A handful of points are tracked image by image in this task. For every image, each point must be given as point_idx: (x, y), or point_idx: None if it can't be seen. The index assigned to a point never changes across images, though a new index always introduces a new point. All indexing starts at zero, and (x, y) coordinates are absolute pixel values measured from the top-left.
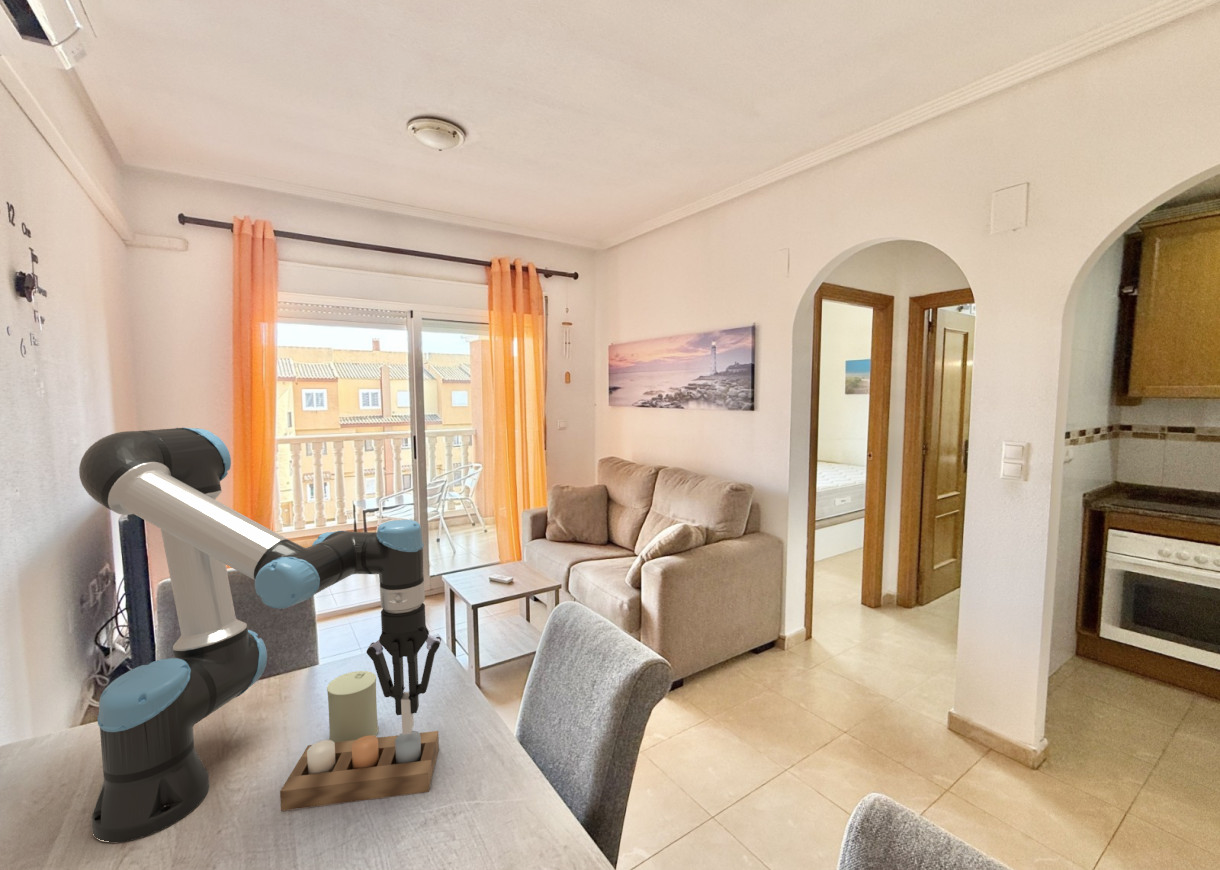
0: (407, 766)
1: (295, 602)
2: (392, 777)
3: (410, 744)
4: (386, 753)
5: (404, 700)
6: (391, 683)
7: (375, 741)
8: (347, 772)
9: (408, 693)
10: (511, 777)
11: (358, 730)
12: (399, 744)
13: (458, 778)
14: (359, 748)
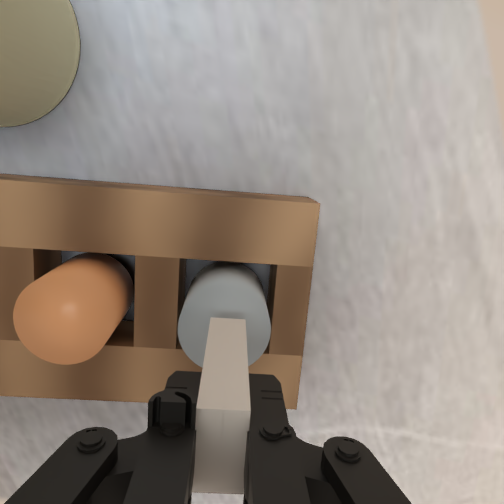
0: None
1: None
2: None
3: None
4: (150, 290)
5: (212, 488)
6: (92, 490)
7: (101, 321)
8: None
9: (227, 427)
10: (499, 375)
11: (1, 110)
12: (198, 360)
13: (364, 347)
14: (50, 348)
